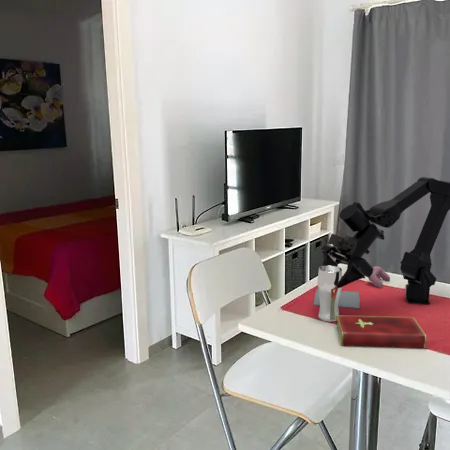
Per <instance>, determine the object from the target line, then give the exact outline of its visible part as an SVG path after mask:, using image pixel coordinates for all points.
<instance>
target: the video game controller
mask: <svg viewBox="0 0 450 450" xmlns="http://www.w3.org/2000/svg"><path fill="white" fill-rule="evenodd" d="M372 267H373V274H372V275H371V276H370V277H369V278H368V277H367V278H368V280H369V282H371V283H372V284H373V285H374V286H376V288H379V289H382V288H383V286H384V283H383V282H382V281H381V279H382V280H383V281H385V282H390V280H391V277H390V275H389V274H388V273H387V272H386V271H385V270H384V269H383V268H382V267H381V266H372Z"/></svg>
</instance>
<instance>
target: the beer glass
mask: <svg viewBox="0 0 450 450" xmlns="http://www.w3.org/2000/svg"><path fill="white" fill-rule="evenodd" d="M342 276H343V268H341V267H339V266H322V265H321V266H319V268H318V274H317V289H318V293H319V299H320V306H319V311H318V319H319V320H321V321H324V322H330V323H331V322H338V321H337V318H336V315H340V312H339V310H340V309H339V308H338V306H339V300H340V296H341V291H343V287H341V288H338V287H337V286H336V285H337V284H338V282H339V280H340V279H341V278H342Z"/></svg>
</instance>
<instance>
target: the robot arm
mask: <svg viewBox="0 0 450 450" xmlns="http://www.w3.org/2000/svg"><path fill="white" fill-rule="evenodd" d="M429 193H430V195H429ZM426 195H429V201H430V209H429V211H428V213H427V215H426V218H425V221H424V223H423V226H422V228H421V231H420V233H419V236H418V238H417V240H416V242H415V243H416V244H415V246H414V248H413V249H412V250H411V251H410V252H408V251H404V253H403V257H402V260H401V261H400V262H399V263H400V267H399V270H400V271H401V274H402V277H403V280H407V284H405V289H404V292H405V293H404V297H405V300H406V301H407V303H408V304H418V305H420V304H421V305H422V304H423V305H431V302H430V292H431V291H430V290H431V289H430V288H431V287H432V286H435V284H436V281H437V277H435V275H434V274H433V273H432V271H431V269H432V265H433V263H432V257H431V255H432V251H433V249H434V246H435V244H436V242H437V241H436V240H437V239H438V237H439V233H440V232H441V228H442V227H443V223H444V222H445V219H446V216H447V214H448V212H449V211H450V181H448V180H442V179H441V180H438V179H435V178H433V177H427V176H422V177H419V178H418V179H417V181H416V182H414V183H413V184H411V185H410V186H408V187H407V188H406V189H404V190H403V191H401V192H400V193H399V194H397V195H395V196H394V197H393V198H391V199H389V200H387V201H386V200H385V201H383V202H382V201H381V202H379V203H377V204H374V205H373V206H371V207H370V208H369V209H366V210H365V209H364V208H363V205H361V203H360V202H357V201H354V202H353V203H352V204H349V205H347V206H346V207H344V208H342V210H341V211H340V213H339V219H340V220H341V221H342V222H343V223H344V225H345V226H346V227H347V228H348V230H350V231H351V232H354V234H353V235H352V236H348V235H345V236H344V237H342V236H340V235H336V234H334V233H331V234H330V237H329V239H328V242H327V243H326V244H323V246H322V247H321V248H320V251H321V254H322V255H323V261H322V265H321V266H337V267H339V263H341V262H343V263H345V264H347V267H346V271H344V273H343V274H342V278H341V279H340V280H339V282H338V284H337V285H336V286H337V287H338V288H341V287H342V288H344V287H345V286H347V285H349V284H351V283H354V282H356V281H359V280H361V279H366V278H369V277H370V276H371V275H372V274H373V267H374V266H372V265H371V264H370V263H369V262H368V261H367V260H366V259H365V258H363V256H364V255H365V254H366V255H368V254H369V253H371V251H370V250H369V249H370V247H371V246H372V244H374V242H375V241H376V240H377V239H380V240H381V241H384V240H385V235H384V233H385V232H384V229H381V228H380V229H379V228H378V226H379V227H382V228H386V229H388V228H391V227H393V226H394V224H395V223H396V222H398V220H400V217H401V215H402V214H403V212H404V211H405V210H407V209H408V208H410V207H411V206H412V205H414V204H416V203H417V202H419V201H420V200H421V199H422V198H423V197H425V196H426Z"/></svg>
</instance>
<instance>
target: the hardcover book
mask: <svg viewBox="0 0 450 450" xmlns="http://www.w3.org/2000/svg"><path fill="white" fill-rule="evenodd" d="M336 318H337V321H336V322H337V323H336V325H337V327H336V328H337V332H338V335H339V338H340V346H341V347H363V348H365V347H366V348H367V347H368V348H371V347H372V348H394V349H395V348H398V349H421V350H423V349H424V350H425V349H426V348H427V342H428V341H427V340H428V339H427V334H426V332H425V331H424V330H423V328H422V327H421V326H420V324H419V323H418V321H417V319H416V318H415V317H414V316H388V315H387V316H385V315H383V316H381V315H347V314H345V315H344V314H343V315H341V314H339V315H336Z"/></svg>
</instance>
